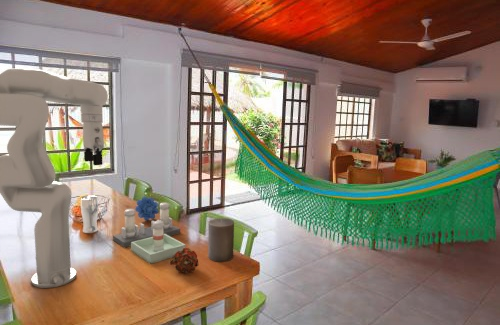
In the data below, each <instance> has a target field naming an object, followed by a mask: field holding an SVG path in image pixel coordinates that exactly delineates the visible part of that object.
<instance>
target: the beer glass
mask: <svg viewBox="0 0 500 325" xmlns="http://www.w3.org/2000/svg"><path fill="white" fill-rule="evenodd" d="M98 198H99V197H98V196H96V195H84V196H81V198H80V212H81V216H82V222H83V225H82V226H83V227H82V233H84V234H94V233H96V232H98V231H99V229H98V223H97V222H98V215H99V199H98Z"/></svg>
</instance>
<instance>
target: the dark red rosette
mask: <svg viewBox="0 0 500 325" xmlns="http://www.w3.org/2000/svg"><path fill="white" fill-rule="evenodd" d="M171 259H172V260H171ZM171 259H170V260H169V264H170V265H172V266H175V267H174V268H175V270H176V271H177V272H182V273H184V274H190V273H193V272H194V271H195V270H196V267H199V259H198V254H197V252H195V250H191V248H189V247H187V248H183V250H182V251H177V252H176V253H175V254H174V257H172V258H171Z"/></svg>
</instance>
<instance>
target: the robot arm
mask: <svg viewBox="0 0 500 325" xmlns="http://www.w3.org/2000/svg"><path fill="white" fill-rule="evenodd" d="M107 101H108V92H107V89H106V87H105V86H103V84H99V83H96V82H93V81H88V80H82V79H78V78H73V77H67V76H64V75H59V74H56V73H54V72H50V71H47V70H44V69H35V68H34V69H33V68H29V69H28V68H8V69H6V70H4V71H2V73H0V126H1V127H3V126H4V127H5V126H7V127H16V129H15V131H14V133H13V134H12V136H10V139H9V140H8V143H7V145H6V150H7V153H6V154H2V155H0V195H1V197H2V198H3V199H4V201H5V203H6V204H7V206H9V208H10V209H12V210H14V211H17V212H26V213H27V212H28V213H29V212H30V213H40V214H41V215H40V217H39V219H38V220H36V223H35V224H34V229H33V230H34V231H33V232H34V246H35V249H34V250H35V268H36V273H35V274H34V275H33V276H32V277H31V278H30V279H31V284H32V286H34V287H36V288H39V289H40V288H41V289H51V288H57V287H62V286H64V285H67V284H68V283H71V282H72V281H73V280H75V279H76V277H77V271H76V269H75V268H72V267H71V247H70V246H71V240H70V208H71V203H72V202H71V200H72V190H71V188H70V187H69V185H67V184H66V183H63V182H60V181H56V180H55V179H56V170H55V168H54V165H53V163H52V161H51V159H50V157H49V154H48V152H47V150H46V148H45V146H44V142H43V139H44V133H45V131H46V126H47V124H48V120H49V113H50V111H49V105H48V102H50V103H57V104H68V105H73V106H80V123H82V144H83V158H84V159H83V162H92V163H93V166H101V165H102V166H103V149H104V148H105V139H104V127H103V122H104V120H103V117H104V116H103V106H104V105H105V104H106V103H107Z"/></svg>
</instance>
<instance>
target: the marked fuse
mask: <svg viewBox="0 0 500 325" xmlns="http://www.w3.org/2000/svg"><path fill="white" fill-rule="evenodd" d="M153 221H154V222H153V251H154V252H158V251H162V250H164V244H163V238H164V234H163V228H164V222H163V221H157V220H153Z"/></svg>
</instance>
